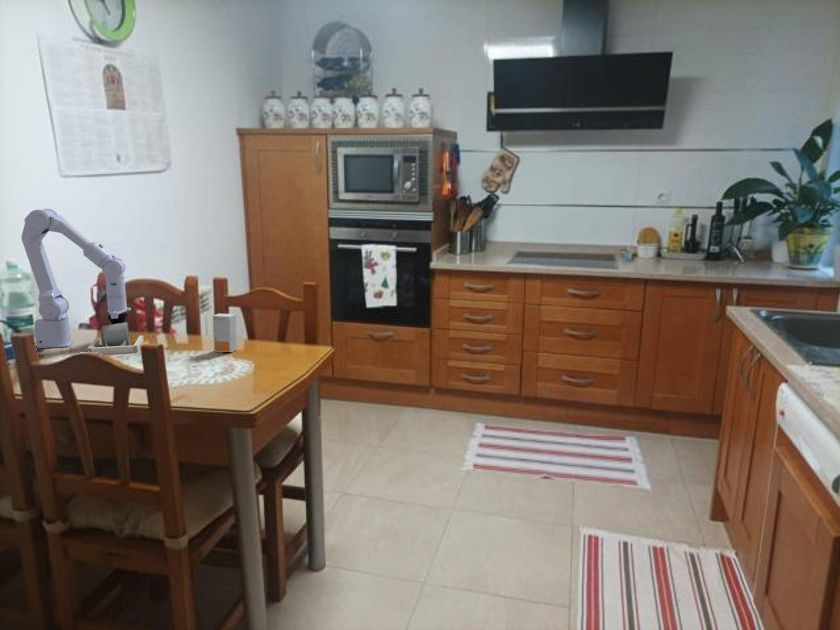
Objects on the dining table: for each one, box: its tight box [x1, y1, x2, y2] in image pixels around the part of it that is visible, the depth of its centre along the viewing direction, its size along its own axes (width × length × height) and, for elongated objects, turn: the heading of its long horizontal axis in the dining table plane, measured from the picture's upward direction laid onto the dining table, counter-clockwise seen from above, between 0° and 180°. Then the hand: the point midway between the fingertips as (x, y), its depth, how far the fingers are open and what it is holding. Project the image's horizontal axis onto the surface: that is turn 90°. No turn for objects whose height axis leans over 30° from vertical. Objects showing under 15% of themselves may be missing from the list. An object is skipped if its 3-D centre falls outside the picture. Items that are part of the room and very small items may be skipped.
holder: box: [86, 335, 145, 355], centre depth 205 cm, size 14×15×2 cm
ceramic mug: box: [100, 322, 131, 347], centre depth 204 cm, size 11×8×8 cm
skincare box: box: [212, 312, 238, 353], centre depth 201 cm, size 6×4×12 cm
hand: (119, 335), depth 211 cm, fingers closed
